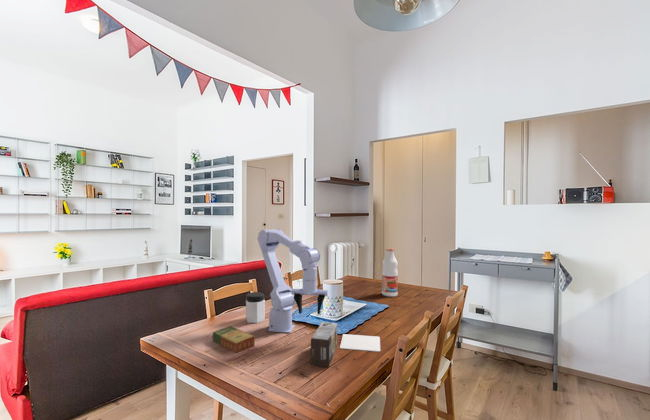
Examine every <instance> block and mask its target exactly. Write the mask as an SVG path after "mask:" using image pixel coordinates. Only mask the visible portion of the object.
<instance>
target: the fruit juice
mask: <svg viewBox="0 0 650 420" xmlns="http://www.w3.org/2000/svg"><path fill="white" fill-rule="evenodd" d="M385 252H386V253H385V256H384V258H383V260H382V264H381V265H382V271H381V294H382V296H384V297H397V296H398V292H399V291H398V290H399V289H398V288H399V287H398V285H399V271H398V266H399V263H398V260H397V259H396V256H395V253H394V252H395V248H393V247H392V248H391V247H387V248H386V249H385Z"/></svg>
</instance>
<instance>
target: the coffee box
mask: <svg viewBox="0 0 650 420" xmlns="http://www.w3.org/2000/svg"><path fill="white" fill-rule="evenodd" d="M337 346H338V323H337V322H329V321H321V322H320V324H319V326H318V327H317V329H316V330H315V332H314V333H313V335H312V337H311V339H310V365H311V366H317V367H325V368H329V367H330V365H331V362H332V361H333V357H334V355H335V351H336V349H337Z"/></svg>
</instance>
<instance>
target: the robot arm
mask: <svg viewBox="0 0 650 420" xmlns="http://www.w3.org/2000/svg"><path fill="white" fill-rule="evenodd" d="M257 242H258V245H259V248H260V250H261V255H262V258H263V260H264V262H265V266H266V269H267V272H268V275H269V276H268V277H269V278H270V282H271V285H272V288H273V289H272V290H271V292H270V294H269V296H270V299H271V300H270V303H271V306H272V307H271V308H270V310H269V314H268V318H269V319H268V332H276V333H288V334H290V333H291V332H292V330H293V329H294V328H295V324H293V308H294V305H295V304H296V305H297V309H298V313H299V314H301V313H302V312H303V296H317V297H316V299H317V300H316V301H317V312H316V313H317V315H320V314H321V309H322V306H323V303H324V300H325V298H326V297H328V296H329V290H327V289H319V288H318V262H319V261H320V259H321V254H320V251H319V250H318V249H317V248H316V247H312V248H311V247H310V246H309V245H306V244H304V243H303V242H302V240H293V239H292V238H290V237H289V236H288V235H286V234H285V233H284V231H283V230H281V229H280V228H275V229H273V228H271V229H261V230H259V232H258V235H257ZM280 244H281V245H283V246H285V247H287V248H288V251H289V252H290V253H291V254H293V255H294V256H295V257H297V258H298V259H299V261H300V263H301V268H302V288H292V286H289V285H288V284H286V282H285V279H284V276H283V273H282V271H281V270H282V269H281V266H280V264H279V261H278V258H277V256H276V253H275V251H276V249H277V248H278V247H279V245H280Z"/></svg>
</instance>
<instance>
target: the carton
mask: <svg viewBox="0 0 650 420" xmlns="http://www.w3.org/2000/svg"><path fill="white" fill-rule="evenodd" d="M212 341H213V342H214V343H216V344H218V345H219V346H220V347H221V346H222V347H224V348H225V349H227V350H228V351H229V350H230V351H231V352H233V353H236V354H238V353H239V354H240V353H241V352H243V351H245V350H248V349H251V348H252V347H255V341H256V340H255V335H253V334H250V333H248V332H245V331H243V330H241V329H238V328H236V327H233V326H232V325H230V326H227V327H224V328H221V329H218V330H215V331H212Z"/></svg>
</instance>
